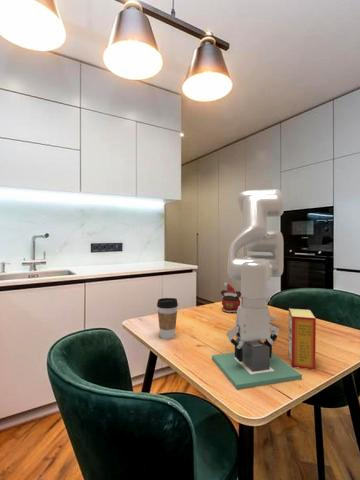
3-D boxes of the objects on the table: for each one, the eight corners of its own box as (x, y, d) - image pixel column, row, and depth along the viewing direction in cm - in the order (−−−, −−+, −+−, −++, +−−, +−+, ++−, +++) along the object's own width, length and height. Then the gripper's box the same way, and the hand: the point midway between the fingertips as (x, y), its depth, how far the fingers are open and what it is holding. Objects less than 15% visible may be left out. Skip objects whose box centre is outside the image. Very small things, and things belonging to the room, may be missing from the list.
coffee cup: (170, 342, 102) (170, 302, 102) (152, 337, 107) (152, 299, 107) (181, 334, 110) (181, 298, 109) (164, 331, 114) (164, 295, 114)
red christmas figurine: (242, 309, 146) (242, 276, 146) (239, 314, 137) (239, 279, 137) (223, 307, 150) (223, 275, 149) (219, 312, 141) (219, 278, 141)
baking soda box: (288, 353, 92) (288, 307, 92) (309, 356, 90) (309, 308, 90) (291, 367, 83) (292, 315, 83) (315, 370, 81) (315, 317, 81)
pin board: (266, 351, 94) (266, 337, 93) (301, 378, 76) (301, 360, 76) (211, 358, 89) (211, 343, 88) (236, 389, 71) (236, 369, 71)
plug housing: (254, 356, 87) (254, 336, 87) (269, 369, 79) (269, 347, 79) (238, 358, 86) (238, 338, 86) (252, 371, 78) (252, 349, 77)
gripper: (271, 297, 88) (271, 349, 88) (222, 301, 83) (222, 356, 84) (286, 303, 80) (285, 360, 81) (232, 307, 76) (232, 367, 77)
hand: (253, 358), depth 82 cm, fingers open, 9 cm apart
